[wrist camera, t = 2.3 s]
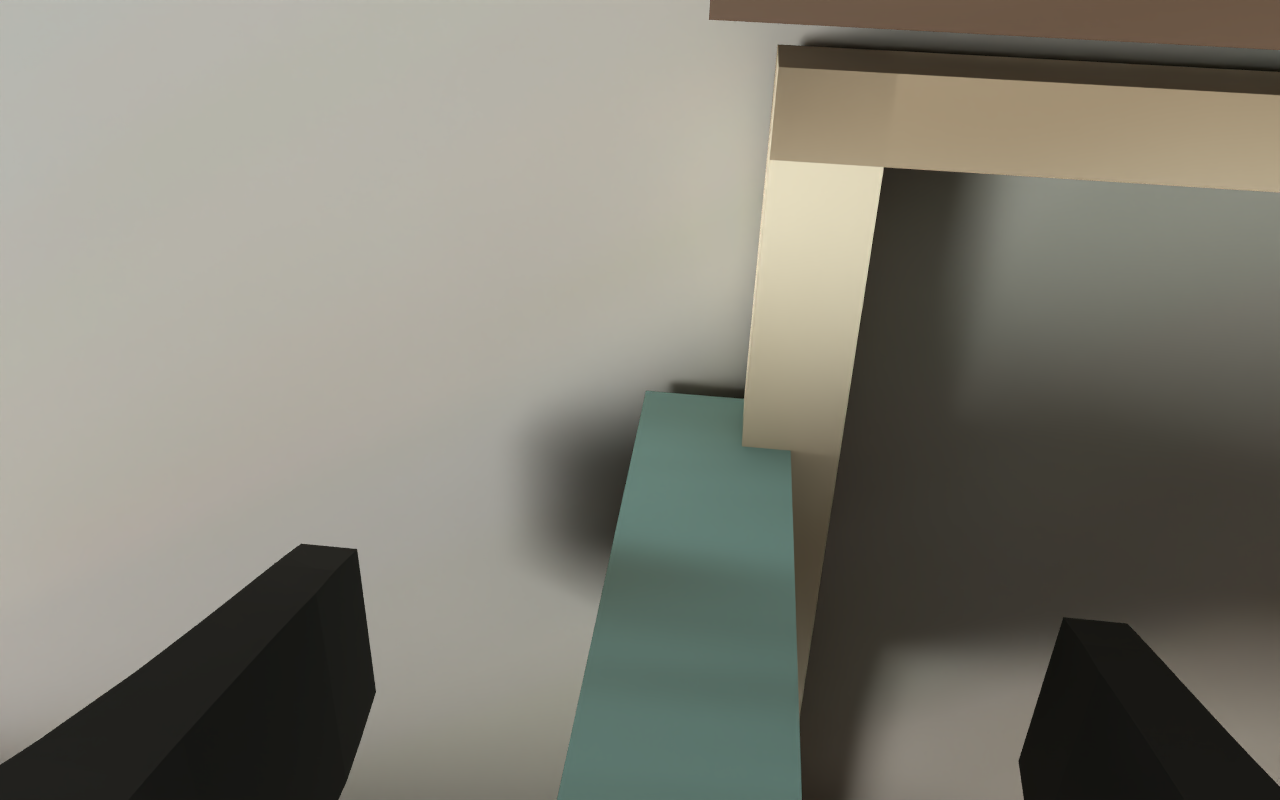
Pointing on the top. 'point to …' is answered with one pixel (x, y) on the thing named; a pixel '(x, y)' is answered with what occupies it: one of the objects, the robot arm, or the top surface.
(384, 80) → the top surface
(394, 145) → the top surface
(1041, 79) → the frame
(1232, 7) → the lane frame
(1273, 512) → the top surface
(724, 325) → the top surface
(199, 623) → the robot arm
